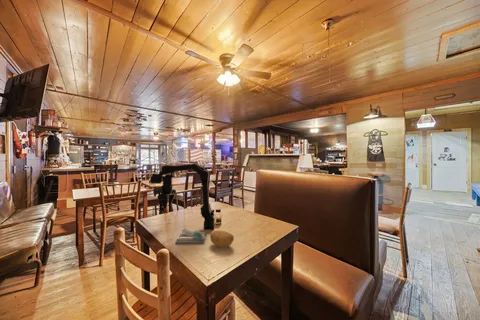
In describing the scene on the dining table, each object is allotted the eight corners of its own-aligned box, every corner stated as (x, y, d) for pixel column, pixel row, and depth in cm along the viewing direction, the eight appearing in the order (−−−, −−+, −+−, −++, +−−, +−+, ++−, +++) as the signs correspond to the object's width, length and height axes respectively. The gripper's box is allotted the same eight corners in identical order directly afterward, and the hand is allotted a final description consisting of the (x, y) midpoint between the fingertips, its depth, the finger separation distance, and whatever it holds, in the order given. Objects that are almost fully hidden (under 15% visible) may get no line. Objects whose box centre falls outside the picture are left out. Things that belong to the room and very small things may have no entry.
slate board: (207, 235, 115) (207, 231, 115) (204, 244, 104) (204, 240, 104) (181, 235, 114) (181, 231, 114) (175, 244, 103) (175, 240, 103)
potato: (216, 239, 109) (216, 226, 109) (236, 245, 103) (237, 231, 102) (205, 247, 101) (205, 232, 100) (227, 253, 94) (227, 238, 94)
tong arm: (205, 236, 108) (205, 231, 108) (203, 237, 106) (203, 233, 106) (184, 231, 114) (184, 227, 114) (181, 232, 112) (181, 228, 112)
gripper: (160, 181, 134) (161, 202, 134) (148, 186, 115) (149, 211, 115) (176, 181, 134) (176, 203, 134) (166, 186, 115) (167, 211, 116)
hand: (167, 206), depth 125 cm, fingers open, 9 cm apart
